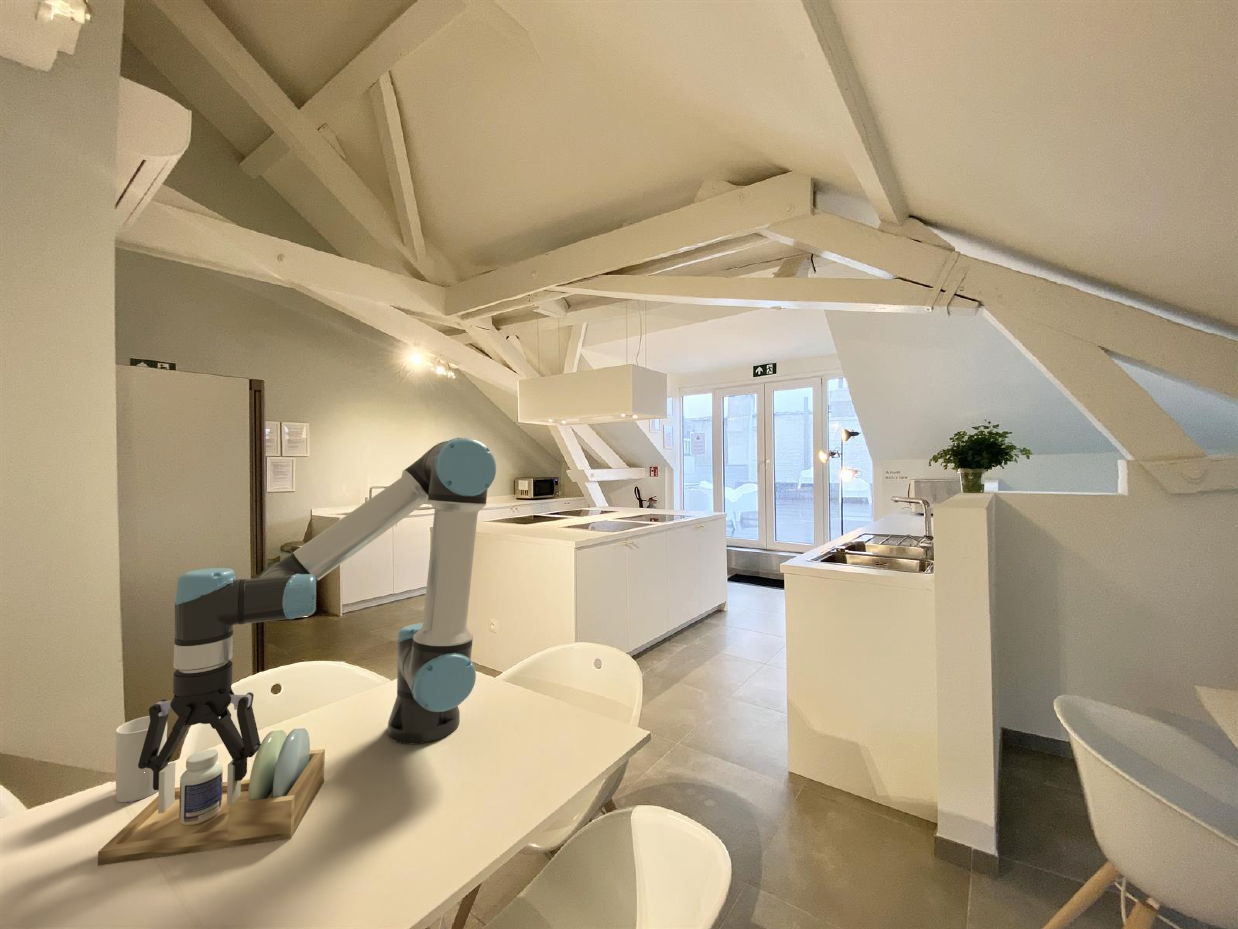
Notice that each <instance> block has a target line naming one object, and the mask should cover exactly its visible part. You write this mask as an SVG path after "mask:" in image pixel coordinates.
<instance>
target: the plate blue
mask: <svg viewBox="0 0 1238 929" xmlns="http://www.w3.org/2000/svg"><path fill="white" fill-rule="evenodd" d="M310 750H311V742H310V735H309V732H308V730H307V729H306V727H305V728H304V727H301V728H293V729H292V730H291V731H290V732H289V733H288V734H287V737H286V739H285V741H284V743H283V745H282V748H281V751H280V753H279V757H278V760H277V764H276V769H275V774H274V782H273V798H275V797H283V796H287V794H288V793H289V791H290V790H291V788H292V787H293V785H294V784H295V782H296V781H297V779H298V778H299V777H300V775H301V774H302V772H303V771H304V769H305V768H306V766H307V765H308V763H309V756H310Z"/></svg>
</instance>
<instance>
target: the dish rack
mask: <svg viewBox="0 0 1238 929" xmlns="http://www.w3.org/2000/svg"><path fill="white" fill-rule="evenodd" d="M325 753H326V749H325V748H323V749H322V748H321V749H313V750H312V749H310V756H309V763H308V765H307V766H306V768H305V769H304V771H303V772H302V774H301V775H300V777H299V778H298V779H297V781H296V782H295V784H294V785H293V787H292V788H291V790H290V791H289V793H288V794H287V796H283V797H275V798H273V791H272V792H271V794H270V795H269V796H268V798H267V799H259V800H250V801H249V798H248V792H249V781H250V778H249V779H242V780H241V794H240V796H239V797H238V798H237V799H236V800H235V802H234V803H232V804H231V805H227V781H224V782H223V781H222V807H221V810H220V811H219V813H218V814H216V815H215V816H214V817H212V818H210V819H209V820H207V821H204V822H202V823H199V824H195V825H183V824H181V823H180V821H179V807H180V786H179V787H175V802H174V803H173V804H172V805H171V806H170V807H169V808H168V809H167V810H166V811H165V812H164V813H159V814H158V799H159V795H158V796H156V797H155V798H154V799H153V800H152V801H151V802H150V803H149V804H148V805H147V806H145V807H144V808H143V809H142V810H141V811H140V812H139V813H138V814H137V815H136V816H134V818H133V819H131V820H130V822H128V823H127V824H126V825H125V826H124V827H123V828H122V829H120V830H119V832H118V833H116V834H115V835H114V836H113V837H112V838H111V839H110V840H109V841H108V842H106V844H105V845H104V846H102V848H100V849H99V850H98V851H97V867H99V866H105V865H113V864H119V863H127V862H128V863H129V862H134V861H140V860H148V859H155V858H162V857H163V858H164V857H170V856H176V855H185V854H190V853H199V852H206V851H214V850H221V849H227V848H229V849H230V848H235V847H243V846H249V845H250V846H251V845H257V844H262V843H263V844H264V843H270V842H277V841H278V842H279V841H285V840H290V839H292V838H293V836H294V834H295V833H296V831H297V830H298V827H299V826H300V824H301V822H302V821H303V819H304V817H305V816H306V813H307V812H308V810H309V808H310V807H311V805H312V804H313V801H314V800H315V798H316V796H317V795H318V793H319V791H320V790H321V788H322V786H323V785H324V783H325V762H326V761H325V757H326V756H325Z"/></svg>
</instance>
